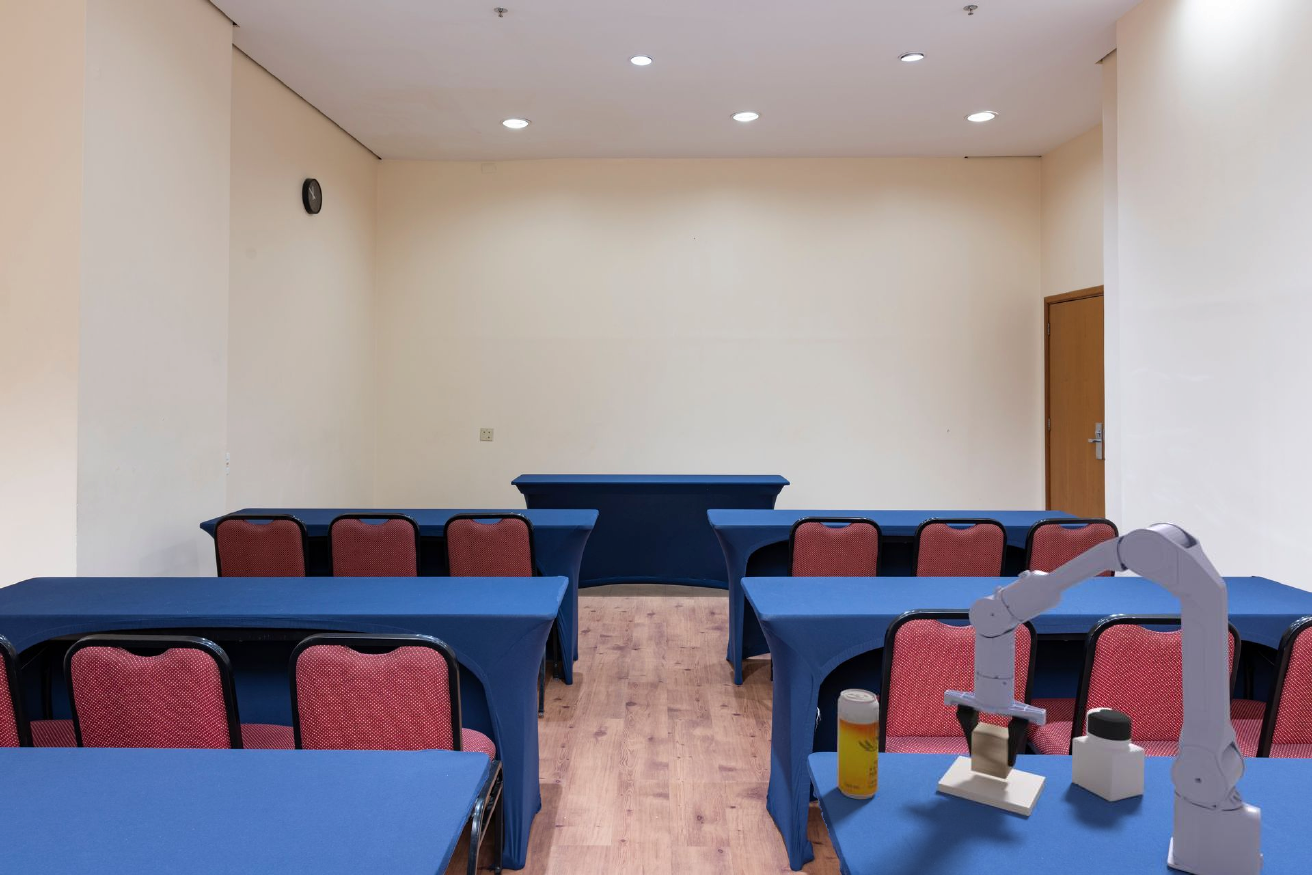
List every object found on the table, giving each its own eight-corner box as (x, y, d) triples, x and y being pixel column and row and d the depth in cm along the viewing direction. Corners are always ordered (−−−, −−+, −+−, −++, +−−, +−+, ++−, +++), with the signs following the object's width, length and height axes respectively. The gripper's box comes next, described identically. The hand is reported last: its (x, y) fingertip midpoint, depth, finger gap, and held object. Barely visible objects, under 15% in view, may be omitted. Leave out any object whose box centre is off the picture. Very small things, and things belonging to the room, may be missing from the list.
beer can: (879, 802, 119) (880, 703, 119) (837, 798, 121) (838, 700, 120) (876, 783, 125) (877, 689, 125) (836, 780, 126) (837, 686, 126)
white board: (1045, 784, 125) (1045, 776, 125) (1029, 816, 115) (1029, 807, 115) (959, 762, 133) (959, 755, 133) (937, 790, 123) (937, 782, 123)
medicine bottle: (1144, 794, 122) (1146, 717, 122) (1111, 802, 120) (1113, 723, 119) (1103, 774, 129) (1105, 701, 128) (1070, 781, 126) (1072, 707, 126)
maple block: (1012, 767, 125) (1013, 729, 124) (1005, 779, 120) (1006, 740, 120) (979, 758, 127) (980, 721, 127) (971, 770, 123) (971, 732, 123)
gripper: (938, 670, 124) (937, 756, 125) (1040, 690, 116) (1038, 782, 116) (951, 659, 130) (950, 740, 131) (1049, 677, 122) (1047, 764, 122)
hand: (992, 759), depth 124 cm, fingers closed on maple block, 5 cm apart
